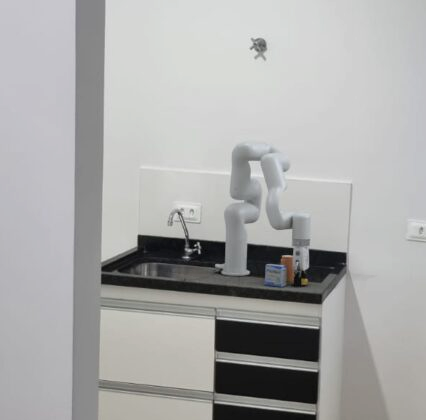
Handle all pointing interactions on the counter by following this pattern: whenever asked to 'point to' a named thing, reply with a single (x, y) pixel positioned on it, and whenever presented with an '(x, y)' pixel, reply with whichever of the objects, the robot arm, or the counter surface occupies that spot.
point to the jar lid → (303, 281)
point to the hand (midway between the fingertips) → (299, 284)
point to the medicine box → (275, 275)
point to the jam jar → (288, 266)
